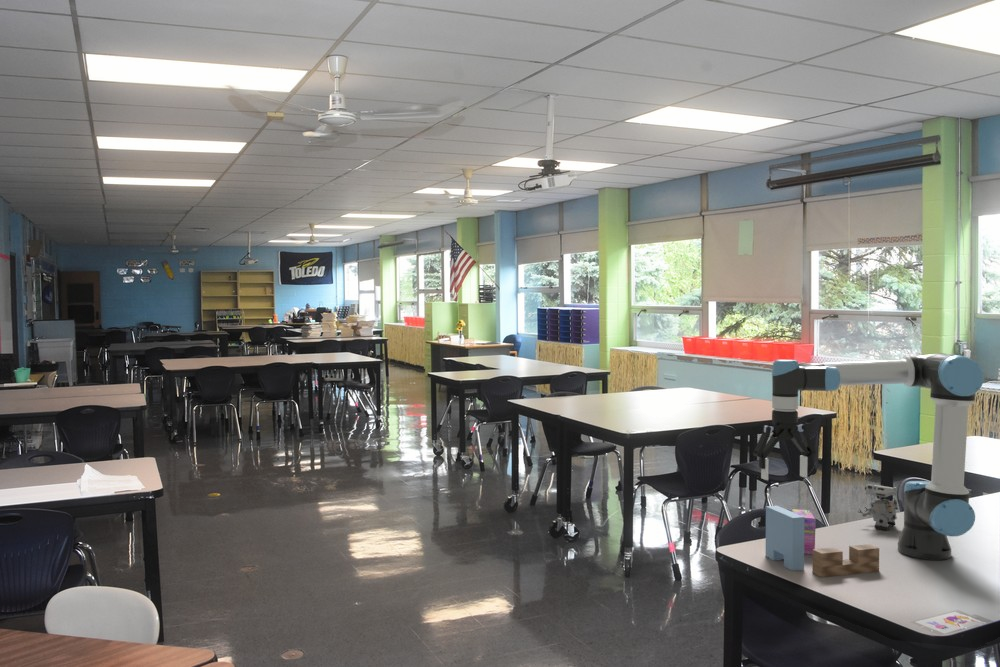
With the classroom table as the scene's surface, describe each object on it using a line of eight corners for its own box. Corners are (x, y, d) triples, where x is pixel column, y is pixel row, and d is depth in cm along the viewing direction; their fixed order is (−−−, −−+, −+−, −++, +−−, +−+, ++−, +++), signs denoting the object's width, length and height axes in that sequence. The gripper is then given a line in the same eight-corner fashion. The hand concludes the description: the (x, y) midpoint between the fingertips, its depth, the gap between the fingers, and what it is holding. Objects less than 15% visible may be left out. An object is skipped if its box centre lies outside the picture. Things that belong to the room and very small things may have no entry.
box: (815, 554, 245) (815, 518, 244) (796, 553, 246) (797, 517, 245) (809, 544, 255) (809, 509, 254) (791, 543, 256) (791, 508, 256)
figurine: (866, 521, 283) (866, 480, 283) (900, 527, 275) (900, 485, 275) (857, 526, 276) (858, 484, 276) (891, 532, 269) (892, 490, 268)
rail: (869, 566, 233) (869, 544, 232) (879, 571, 229) (879, 548, 228) (812, 572, 228) (812, 549, 228) (821, 577, 224) (821, 553, 224)
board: (765, 556, 243) (765, 506, 243) (776, 555, 244) (776, 505, 244) (792, 570, 230) (792, 517, 229) (804, 569, 230) (804, 517, 230)
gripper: (812, 406, 242) (811, 473, 243) (742, 409, 236) (741, 477, 237) (828, 409, 235) (827, 478, 235) (755, 412, 229) (755, 482, 230)
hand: (784, 478), depth 236 cm, fingers open, 13 cm apart
